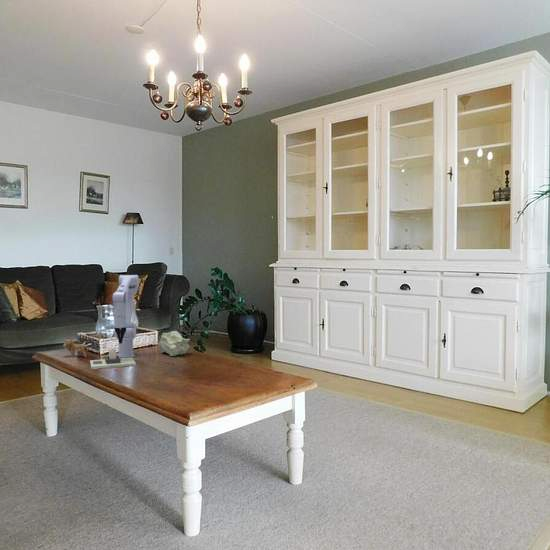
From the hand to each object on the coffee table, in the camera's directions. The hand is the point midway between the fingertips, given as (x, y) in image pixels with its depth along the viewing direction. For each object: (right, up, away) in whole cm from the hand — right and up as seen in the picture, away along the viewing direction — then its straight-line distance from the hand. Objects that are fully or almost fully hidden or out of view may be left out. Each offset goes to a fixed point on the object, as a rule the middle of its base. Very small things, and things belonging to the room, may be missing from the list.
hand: (120, 343), depth 242 cm
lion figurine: (-27, -9, +13) cm, 31 cm away
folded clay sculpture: (+22, -9, +21) cm, 32 cm away
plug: (-2, -8, -5) cm, 10 cm away
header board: (-2, -10, -5) cm, 11 cm away
